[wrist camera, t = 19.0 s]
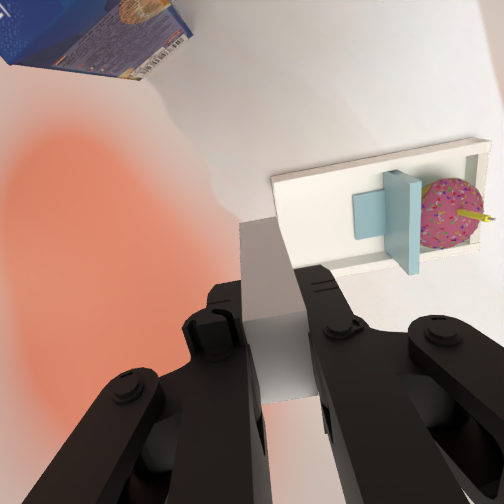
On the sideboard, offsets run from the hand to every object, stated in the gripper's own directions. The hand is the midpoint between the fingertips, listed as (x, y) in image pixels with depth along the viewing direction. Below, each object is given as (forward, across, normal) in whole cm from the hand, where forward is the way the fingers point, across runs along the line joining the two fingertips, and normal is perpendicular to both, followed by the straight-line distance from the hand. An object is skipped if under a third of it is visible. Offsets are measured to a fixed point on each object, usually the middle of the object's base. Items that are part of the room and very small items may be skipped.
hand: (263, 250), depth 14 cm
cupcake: (+29, +21, -11) cm, 38 cm away
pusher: (+28, +15, -11) cm, 34 cm away
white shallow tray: (+29, +15, -11) cm, 35 cm away
